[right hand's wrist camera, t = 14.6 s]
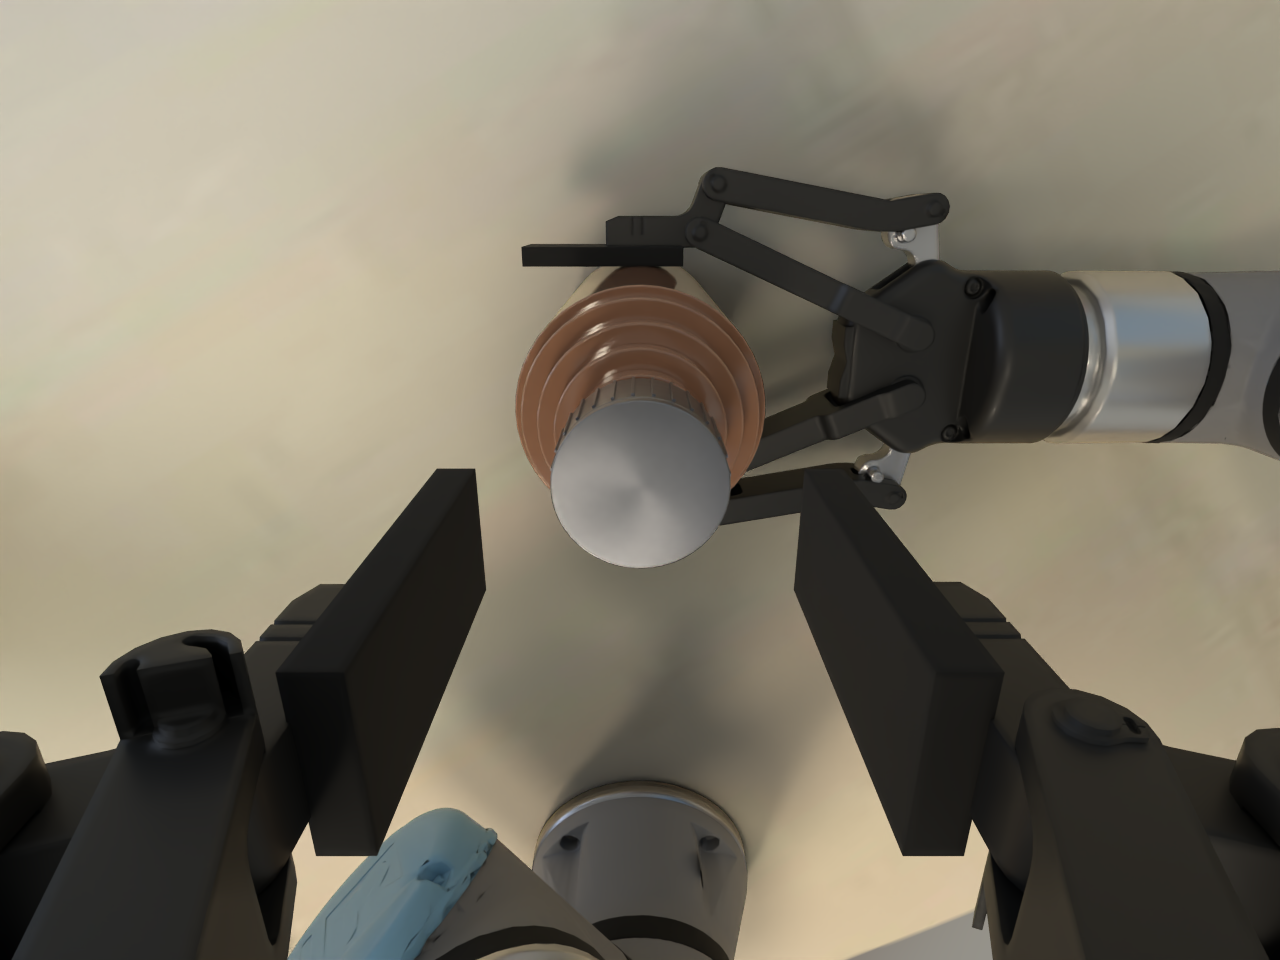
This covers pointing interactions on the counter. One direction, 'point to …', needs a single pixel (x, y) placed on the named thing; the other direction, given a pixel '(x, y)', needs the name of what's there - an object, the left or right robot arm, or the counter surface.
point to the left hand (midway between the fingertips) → (533, 358)
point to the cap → (640, 474)
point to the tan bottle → (640, 359)
